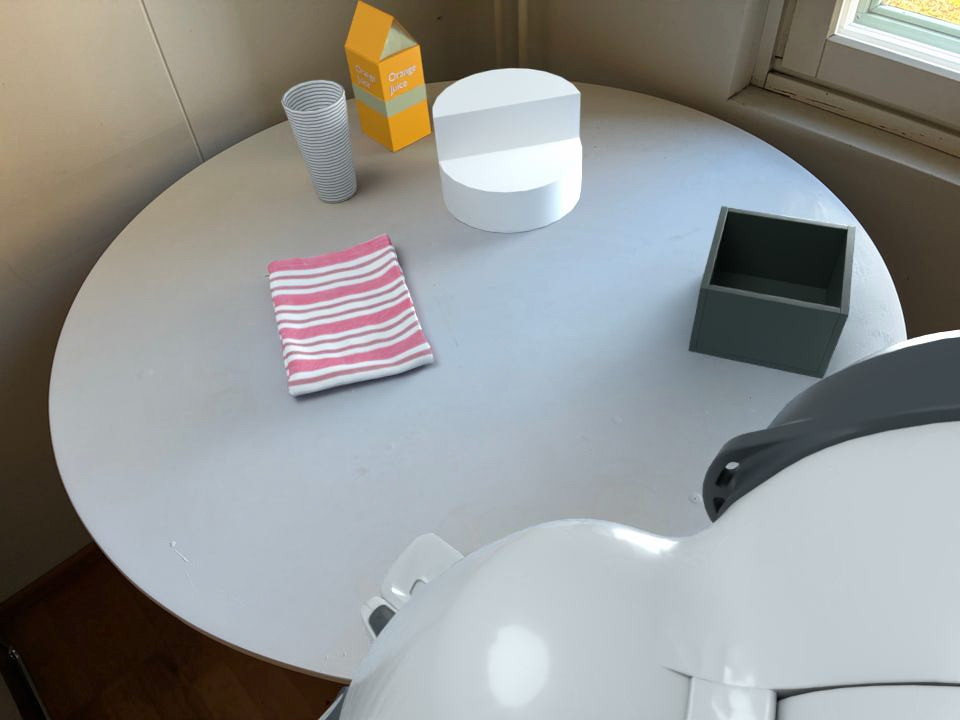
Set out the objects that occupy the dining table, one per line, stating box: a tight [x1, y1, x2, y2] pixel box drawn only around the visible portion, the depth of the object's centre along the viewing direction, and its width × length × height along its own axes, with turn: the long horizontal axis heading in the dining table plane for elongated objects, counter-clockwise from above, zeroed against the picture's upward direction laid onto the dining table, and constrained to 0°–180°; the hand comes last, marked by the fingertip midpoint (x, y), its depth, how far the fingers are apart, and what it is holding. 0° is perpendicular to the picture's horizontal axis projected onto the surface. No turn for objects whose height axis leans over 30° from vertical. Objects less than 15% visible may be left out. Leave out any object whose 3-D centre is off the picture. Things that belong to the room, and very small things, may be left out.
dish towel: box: [267, 232, 434, 397], centre depth 94 cm, size 17×23×4 cm
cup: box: [281, 78, 358, 204], centre depth 108 cm, size 8×8×16 cm
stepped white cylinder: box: [432, 67, 583, 234], centre depth 106 cm, size 20×20×13 cm
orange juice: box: [344, 0, 432, 153], centre depth 116 cm, size 8×9×20 cm
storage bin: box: [687, 205, 857, 379], centre depth 87 cm, size 15×15×10 cm
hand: (550, 562), depth 65 cm, fingers closed on supplement box, 4 cm apart
